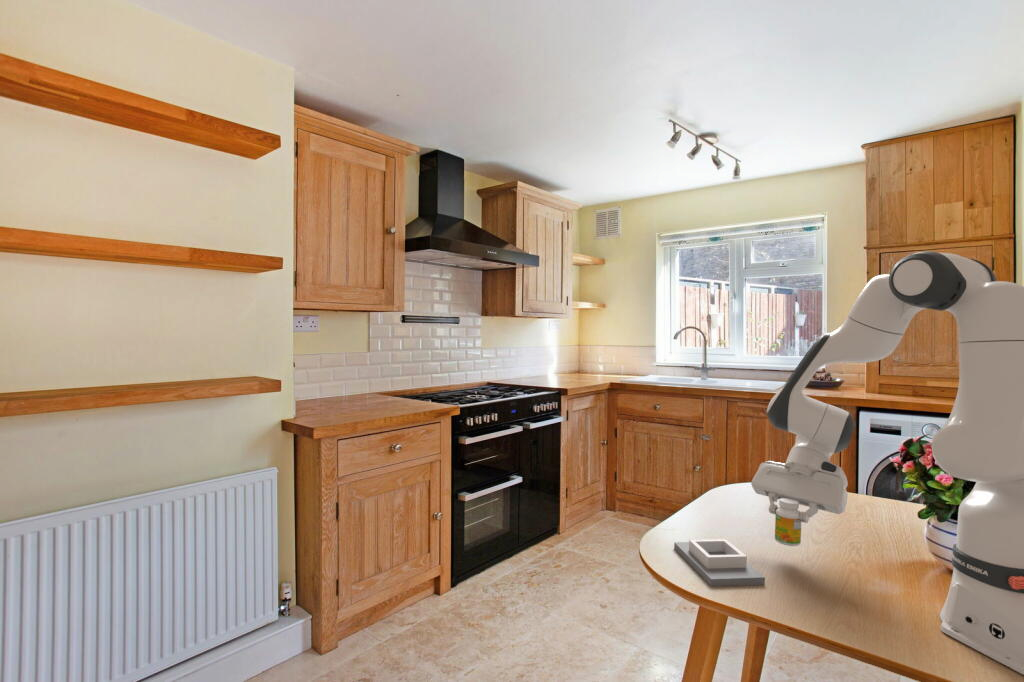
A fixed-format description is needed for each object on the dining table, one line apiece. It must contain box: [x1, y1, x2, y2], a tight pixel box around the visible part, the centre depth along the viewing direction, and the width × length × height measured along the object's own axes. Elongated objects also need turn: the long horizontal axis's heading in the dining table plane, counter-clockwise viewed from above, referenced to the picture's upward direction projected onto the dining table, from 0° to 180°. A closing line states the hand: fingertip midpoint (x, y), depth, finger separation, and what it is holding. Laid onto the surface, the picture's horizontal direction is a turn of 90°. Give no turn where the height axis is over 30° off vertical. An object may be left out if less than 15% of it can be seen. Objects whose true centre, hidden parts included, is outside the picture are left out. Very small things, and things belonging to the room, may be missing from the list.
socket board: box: [673, 538, 766, 587], centre depth 120 cm, size 18×12×4 cm, turn 7°
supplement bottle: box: [774, 498, 802, 547], centre depth 124 cm, size 5×5×10 cm
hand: (787, 516), depth 123 cm, fingers closed on supplement bottle, 5 cm apart
